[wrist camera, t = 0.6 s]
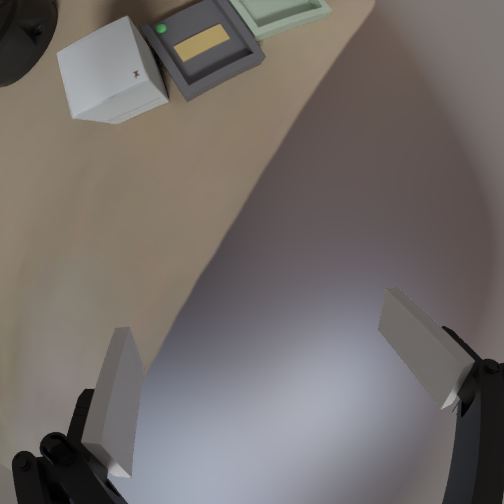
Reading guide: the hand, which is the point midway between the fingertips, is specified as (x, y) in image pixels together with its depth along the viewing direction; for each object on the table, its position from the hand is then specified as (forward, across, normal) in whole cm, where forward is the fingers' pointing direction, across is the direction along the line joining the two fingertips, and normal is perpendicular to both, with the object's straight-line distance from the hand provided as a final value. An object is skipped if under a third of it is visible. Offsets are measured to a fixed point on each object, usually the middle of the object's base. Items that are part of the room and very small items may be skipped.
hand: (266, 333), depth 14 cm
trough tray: (+25, +7, +28) cm, 38 cm away
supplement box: (+25, -10, +17) cm, 32 cm away
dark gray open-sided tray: (+25, -1, +21) cm, 33 cm away
